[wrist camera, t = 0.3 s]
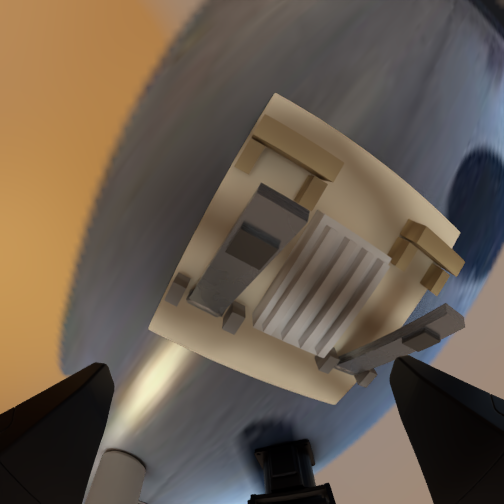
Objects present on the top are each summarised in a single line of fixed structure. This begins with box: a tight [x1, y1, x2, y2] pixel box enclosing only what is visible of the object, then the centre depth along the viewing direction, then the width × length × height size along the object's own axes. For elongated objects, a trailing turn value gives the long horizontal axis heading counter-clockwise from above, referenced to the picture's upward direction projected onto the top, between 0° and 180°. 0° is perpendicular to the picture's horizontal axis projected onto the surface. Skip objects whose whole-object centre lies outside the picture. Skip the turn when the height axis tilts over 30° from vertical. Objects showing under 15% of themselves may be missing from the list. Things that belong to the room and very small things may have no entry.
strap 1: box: [186, 183, 310, 318], centre depth 17 cm, size 12×3×1 cm
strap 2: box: [334, 303, 465, 375], centre depth 19 cm, size 12×3×1 cm
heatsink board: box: [148, 93, 465, 405], centre depth 20 cm, size 20×19×4 cm
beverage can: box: [85, 451, 146, 504], centre depth 24 cm, size 6×6×12 cm
